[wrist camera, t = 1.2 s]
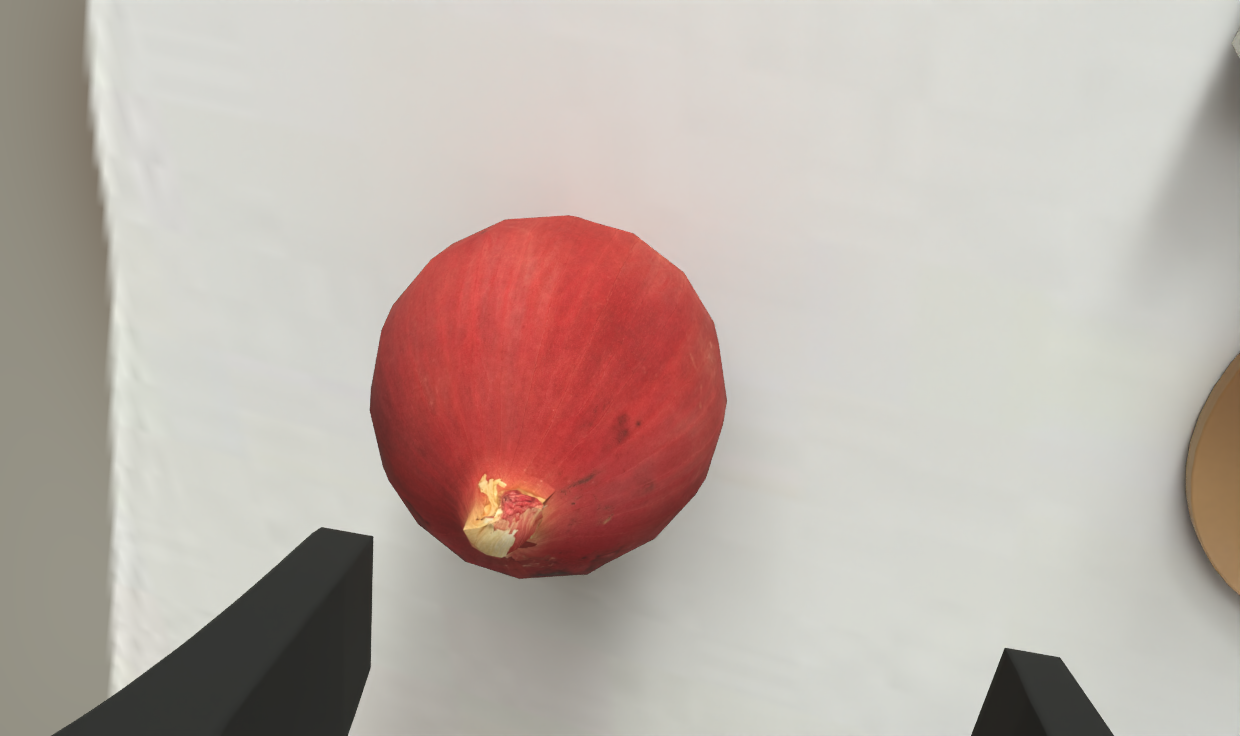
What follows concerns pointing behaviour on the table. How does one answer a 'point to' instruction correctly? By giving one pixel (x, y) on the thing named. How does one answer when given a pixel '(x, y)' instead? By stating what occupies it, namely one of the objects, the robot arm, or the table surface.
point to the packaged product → (1237, 43)
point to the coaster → (1218, 476)
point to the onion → (547, 395)
